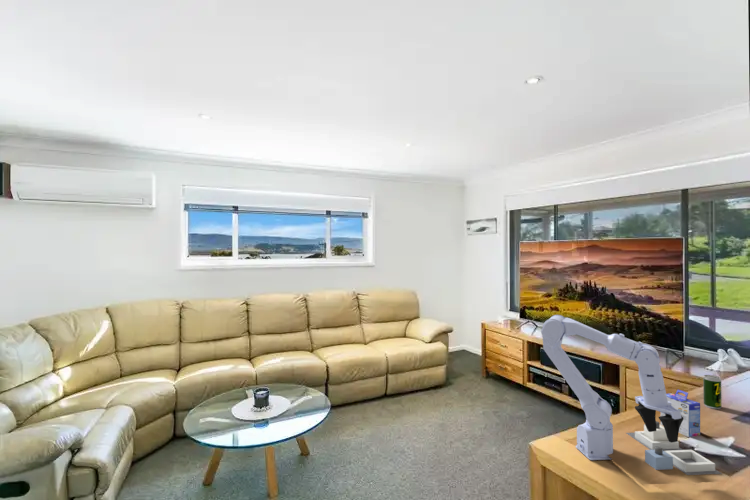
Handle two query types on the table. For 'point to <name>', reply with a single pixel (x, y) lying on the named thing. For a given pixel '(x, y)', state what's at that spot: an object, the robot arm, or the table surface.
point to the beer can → (712, 391)
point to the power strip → (679, 456)
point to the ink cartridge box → (686, 413)
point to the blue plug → (658, 459)
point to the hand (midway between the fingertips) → (662, 436)
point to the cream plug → (656, 433)
